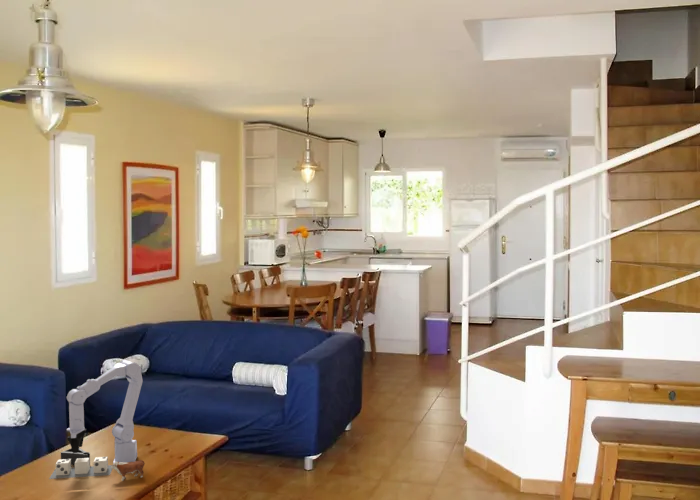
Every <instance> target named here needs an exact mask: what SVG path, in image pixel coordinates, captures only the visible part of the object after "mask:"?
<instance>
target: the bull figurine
mask: <svg viewBox="0 0 700 500" xmlns="http://www.w3.org/2000/svg"><path fill="white" fill-rule="evenodd" d="M145 464H146V463H145V461H144V460H142V459H141V460H136V461H135V462H115V463H113V464H111V465H112V466H111V469H112V470H114V471H116V472H117V474H119V475H120V476H122V477H121V482H123V481H125V479H126V475H127V474H131V475H134V477H138V475H139V474H140V478H143V477H144V467H145ZM134 473H135V474H134Z"/></svg>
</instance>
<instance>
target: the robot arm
mask: <svg viewBox="0 0 700 500" xmlns="http://www.w3.org/2000/svg"><path fill="white" fill-rule="evenodd" d="M116 377H125V378H126V379H127V382H129V383H128V385H127V386H128V387H127V390H126V394H125V398H124V402H123V404H122V405H123V406H122V410H121V412H120V413H121V414H120V417H119V418H118V419H117V420H116V422H115V425H114V426H113V427H112V429H111V434H112V436H113V437H114V459H113V462H112V463H113V464H114V463H115V462H119V463H120V462H123V463H129V462H135V461H137V457H138V443H137V442H138V441H137V439H134V436H135V432H134V429H135V425H134V421H133V420H134V416H135V411H136V407H137V404H138V400H139V396H140V393H141V389H142V386H143V382H144V381H143V376H142V368H141V366H140V365H139V364H138V363H137V362H133V361H130V360H128V359H122V360H120V361H119V362H117V363H115V365H114V366H112V367H111V368H110V369H108V370H107V371H105V372H104V373H103V374H101V375H100V376H98V377H97V378H95V379H94V378H91V379H90V378H88V379H87V380H86V382H84V383H83V384H82V385H78V386H77V387H76V388H72V389H71V390H69V391H68V393H67V396H66V397H65V398H66V400H67V402H68V412H69V413H68V414H69V417H68V419H69V427H68V428H66V432H69V433H70V435H68V436H67V438H66V439H67V441H68V443H69V444H70V449H71V448H72V452H73V453H78V451H79V448H82V447H83V445H84V444H83V443H84V439H85V435H86V432H87V428H85V410H84V409H85V408H84V403H85V401H86V400H87V398H89V397H90V396H92V395H93V394H95V393H97V392H99V390H100V389H101V386H102V385H104V384H106V383H108V382H109V381H111V380H113V379H114V378H116Z"/></svg>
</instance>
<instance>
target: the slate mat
mask: <svg viewBox="0 0 700 500" xmlns="http://www.w3.org/2000/svg"><path fill="white" fill-rule="evenodd" d="M112 465H113V464H108V469H107V472H103V473H94V465H91V466H90V470H89V472H88V474H75V466H74V467H71V472H70V473H69V475H56V468H55V469H54V470H53V472H52V473H51V475H50V476H49V478H48V480H56V479H69V478H70V479H72V478H85V477H86V478H87V477H88V478H89V477H101V476H102V477H103V476H110V475H111V473H112V470H113V469H111V466H112Z"/></svg>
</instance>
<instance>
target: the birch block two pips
mask: <svg viewBox="0 0 700 500" xmlns="http://www.w3.org/2000/svg"><path fill="white" fill-rule="evenodd" d="M108 460H109V458H108V456H96V457H95V458H94V460H93V466H94V473H103V472H107V469H108V465H109V461H108Z"/></svg>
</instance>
